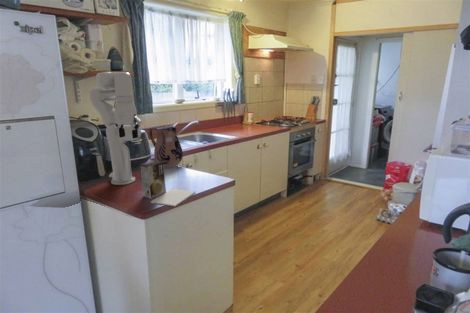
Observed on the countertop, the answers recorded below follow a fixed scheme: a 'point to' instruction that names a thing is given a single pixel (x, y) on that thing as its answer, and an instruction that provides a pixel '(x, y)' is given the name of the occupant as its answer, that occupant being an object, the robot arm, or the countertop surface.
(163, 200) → the mat
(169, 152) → the ceramic pitcher
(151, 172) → the coffee box
